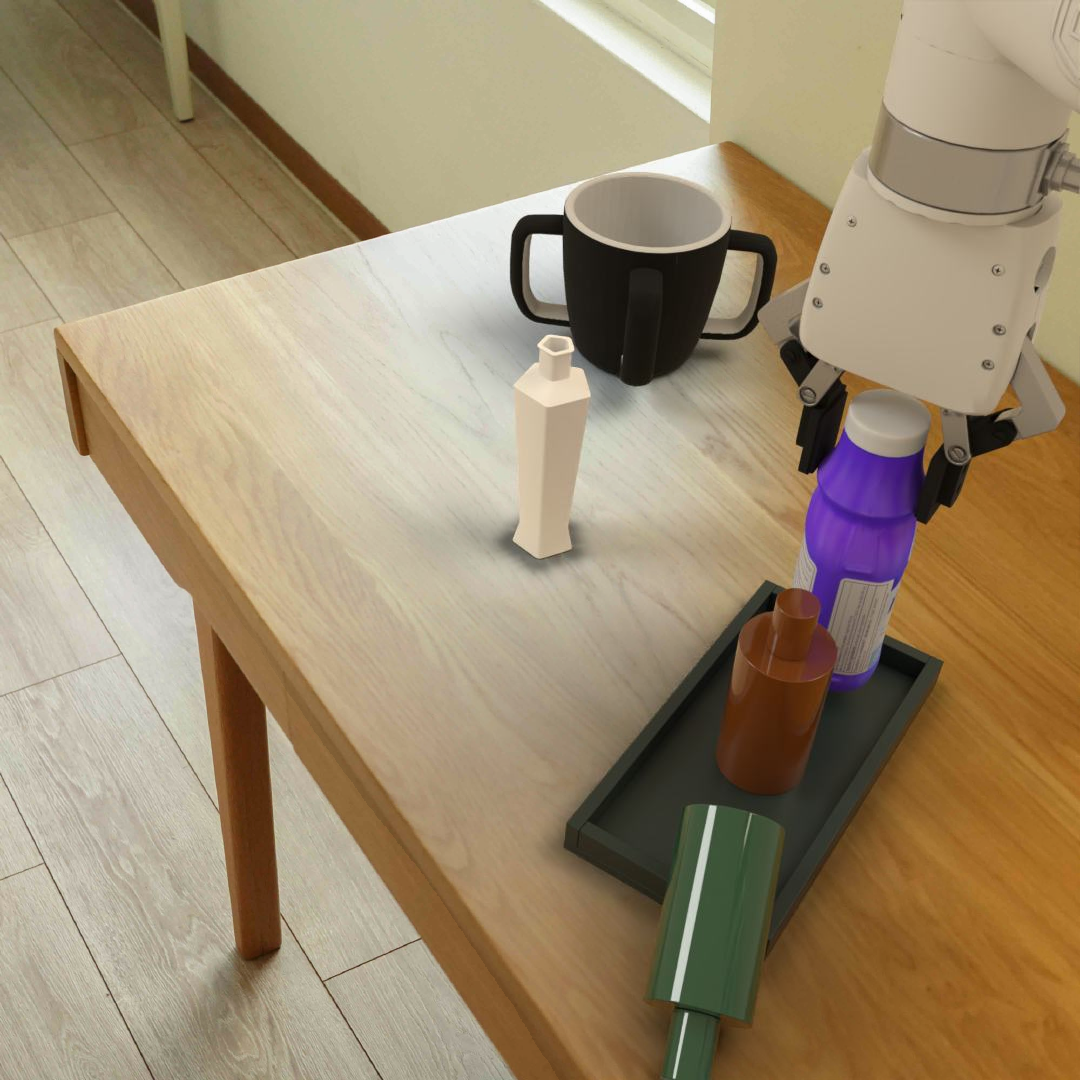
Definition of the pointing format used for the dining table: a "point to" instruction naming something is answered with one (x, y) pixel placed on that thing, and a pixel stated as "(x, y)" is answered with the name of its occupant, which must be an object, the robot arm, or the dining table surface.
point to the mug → (641, 271)
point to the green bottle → (713, 931)
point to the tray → (694, 778)
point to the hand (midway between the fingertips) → (872, 481)
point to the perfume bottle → (549, 446)
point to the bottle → (864, 526)
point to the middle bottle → (776, 695)
